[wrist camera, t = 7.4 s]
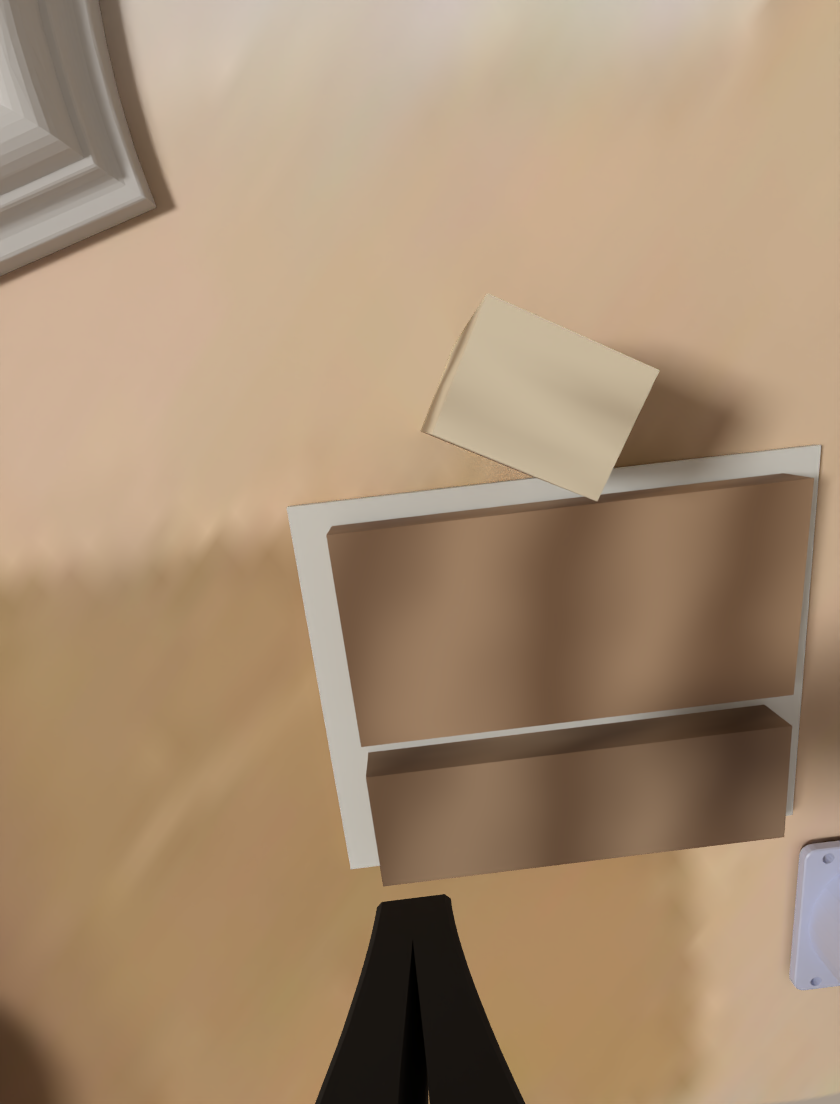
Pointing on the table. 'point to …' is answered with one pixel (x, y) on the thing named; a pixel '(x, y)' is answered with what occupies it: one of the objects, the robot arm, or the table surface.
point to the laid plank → (579, 794)
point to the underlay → (319, 517)
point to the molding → (61, 132)
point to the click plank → (573, 607)
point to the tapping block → (538, 398)
